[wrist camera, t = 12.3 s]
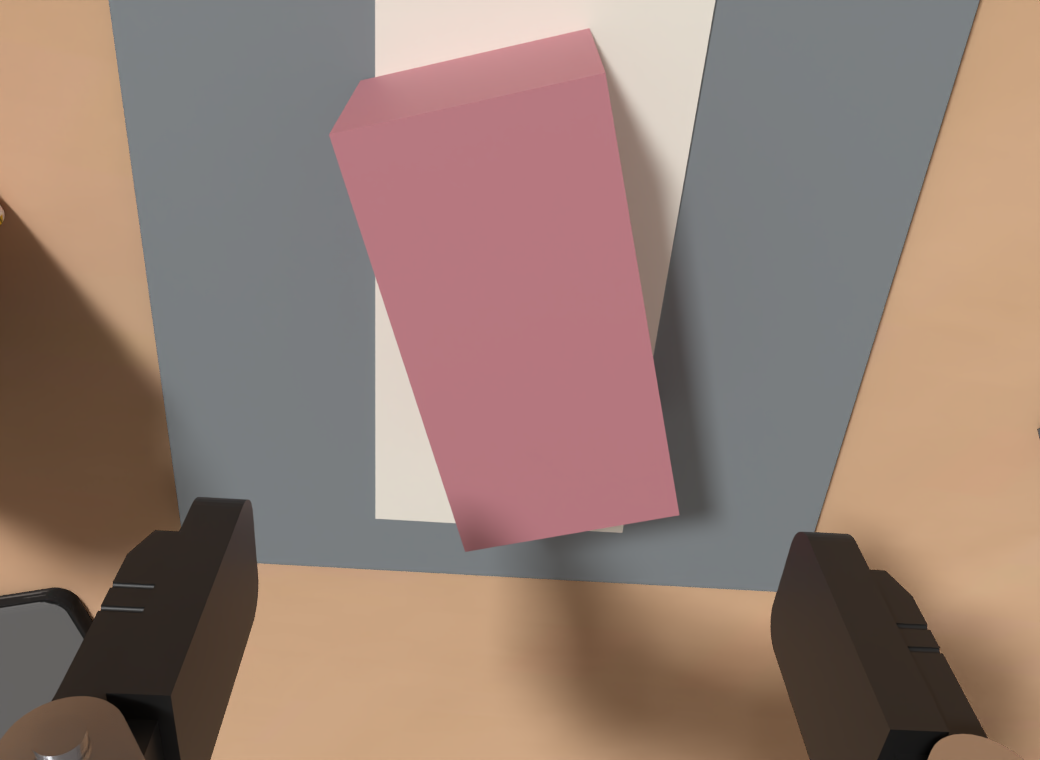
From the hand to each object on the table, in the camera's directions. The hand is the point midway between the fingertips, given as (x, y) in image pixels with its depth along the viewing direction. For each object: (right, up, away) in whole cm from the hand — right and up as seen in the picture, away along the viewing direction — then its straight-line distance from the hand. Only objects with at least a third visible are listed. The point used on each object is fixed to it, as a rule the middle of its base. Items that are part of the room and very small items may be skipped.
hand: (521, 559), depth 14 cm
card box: (0, +5, +8) cm, 10 cm away
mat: (0, +6, +9) cm, 11 cm away
